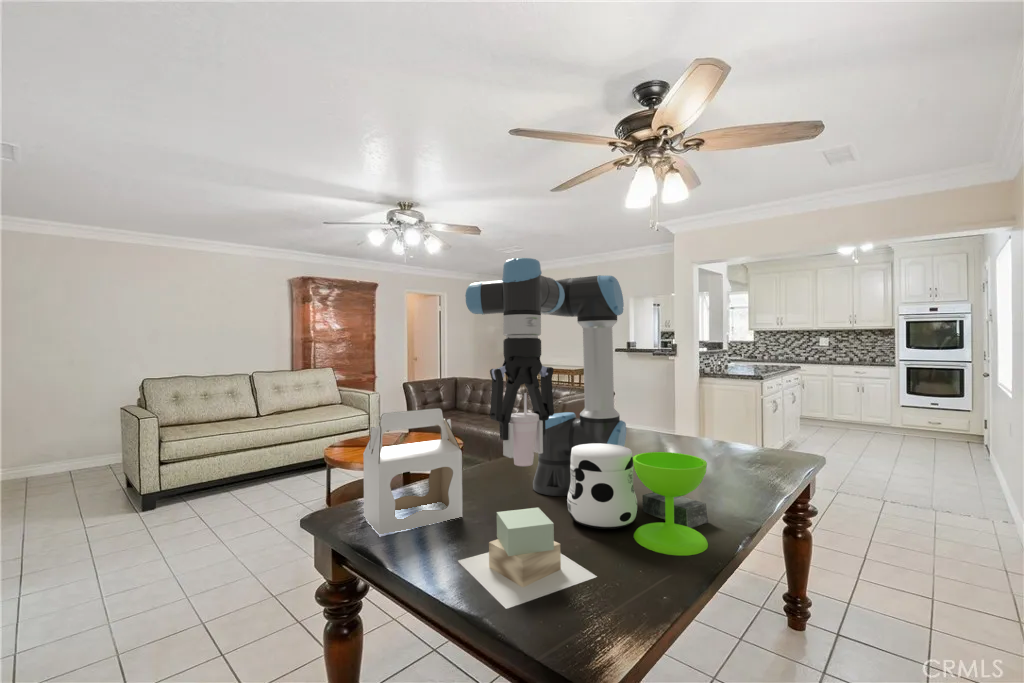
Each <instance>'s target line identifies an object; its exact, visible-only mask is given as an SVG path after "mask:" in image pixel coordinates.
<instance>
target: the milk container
mask: <svg viewBox="0 0 1024 683" xmlns="http://www.w3.org/2000/svg"><path fill="white" fill-rule="evenodd" d="M633 457H634V456H633V452H632V450H631V448H628V447H626V446H625V445H624V446H620V445H614V444H602V443H594V444H582V445H577V446H574V447H573V448H572V450H571V465H570V472H571V482H570V488H569V492H568V496H567V499H566V501H567V502H566V504H567V510H568V514H569V517H570V518H571V519H572V520H573V521H575V522H576V523H578V524H580V525H582V526H585V527H587V528H591V529H599V530H617V529H619V528H621V529H622V528H625V527H627V526H630V525H631V524H632V523H633V522H634V521H635V519H636V517H637V511H638V499H637V494H636V492H635V488H634V464H633Z"/></svg>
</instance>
